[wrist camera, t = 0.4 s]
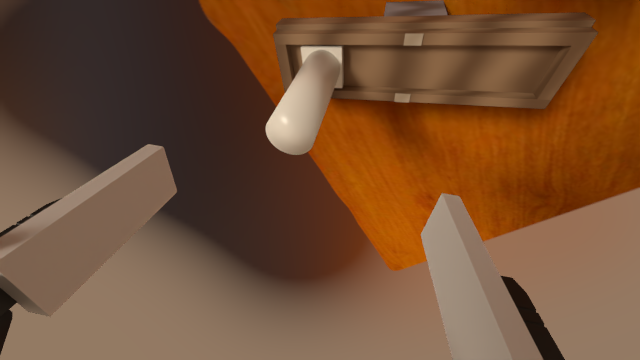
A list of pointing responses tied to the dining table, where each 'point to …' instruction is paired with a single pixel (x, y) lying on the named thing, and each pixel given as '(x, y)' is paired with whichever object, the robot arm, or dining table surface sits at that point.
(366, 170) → the dining table surface
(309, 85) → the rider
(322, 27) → the beam
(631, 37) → the dining table surface
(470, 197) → the dining table surface
